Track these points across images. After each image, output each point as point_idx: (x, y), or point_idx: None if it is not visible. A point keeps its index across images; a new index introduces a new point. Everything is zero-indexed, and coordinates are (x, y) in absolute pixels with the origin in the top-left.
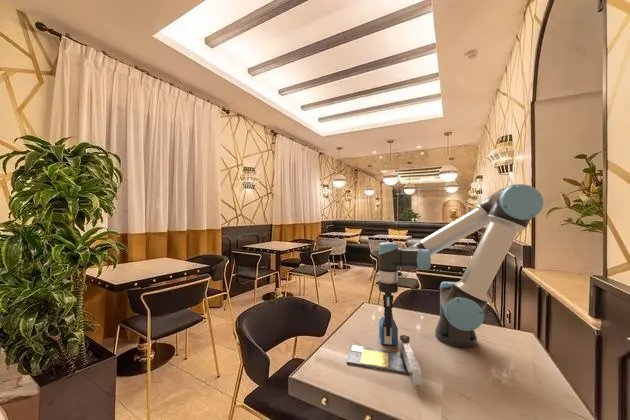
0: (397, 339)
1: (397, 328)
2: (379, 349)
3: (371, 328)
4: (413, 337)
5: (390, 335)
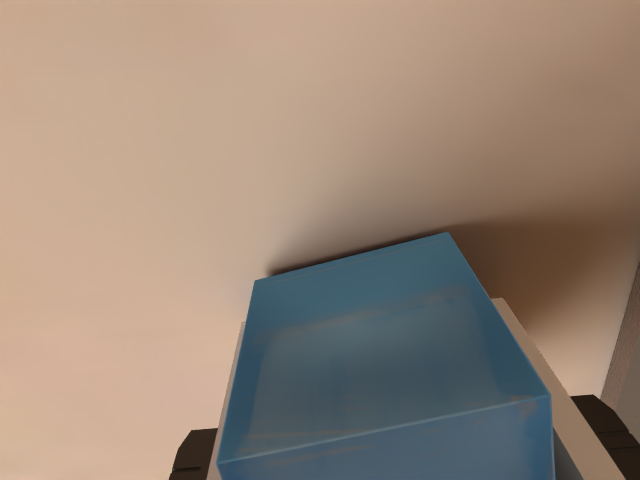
0: (472, 270)
1: (549, 400)
2: (632, 381)
3: (139, 475)
4: (61, 29)
5: (556, 393)
